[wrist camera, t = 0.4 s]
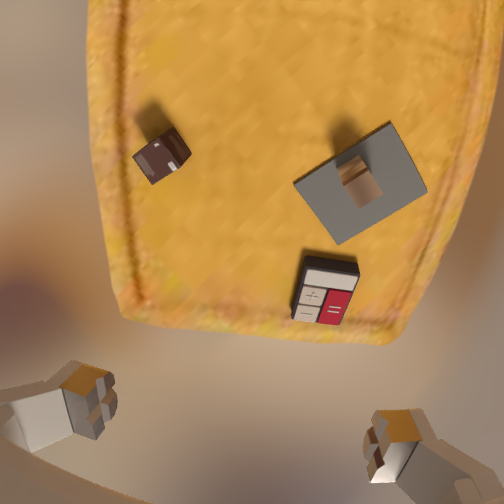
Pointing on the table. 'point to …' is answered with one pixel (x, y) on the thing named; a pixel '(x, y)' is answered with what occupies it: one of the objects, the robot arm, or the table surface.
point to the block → (359, 182)
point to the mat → (383, 171)
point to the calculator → (324, 290)
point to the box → (162, 156)
